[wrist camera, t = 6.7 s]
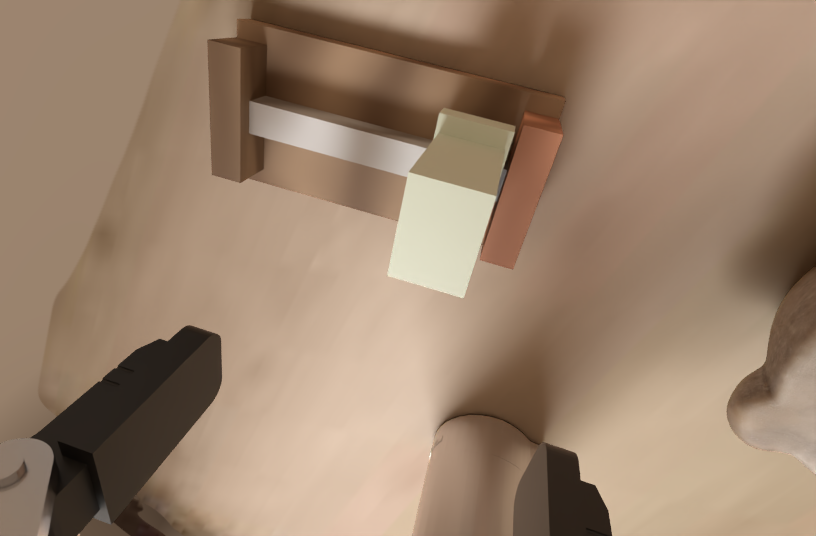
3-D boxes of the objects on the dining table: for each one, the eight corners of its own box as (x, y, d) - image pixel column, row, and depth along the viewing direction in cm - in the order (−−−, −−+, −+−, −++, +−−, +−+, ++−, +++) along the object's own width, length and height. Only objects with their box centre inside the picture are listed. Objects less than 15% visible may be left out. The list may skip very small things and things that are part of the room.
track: (563, 97, 27) (571, 114, 22) (510, 243, 32) (507, 283, 27) (250, 18, 29) (195, 19, 24) (248, 169, 34) (203, 194, 29)
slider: (516, 119, 26) (509, 173, 17) (482, 227, 30) (462, 317, 21) (449, 102, 26) (408, 146, 18) (423, 210, 30) (379, 291, 21)
